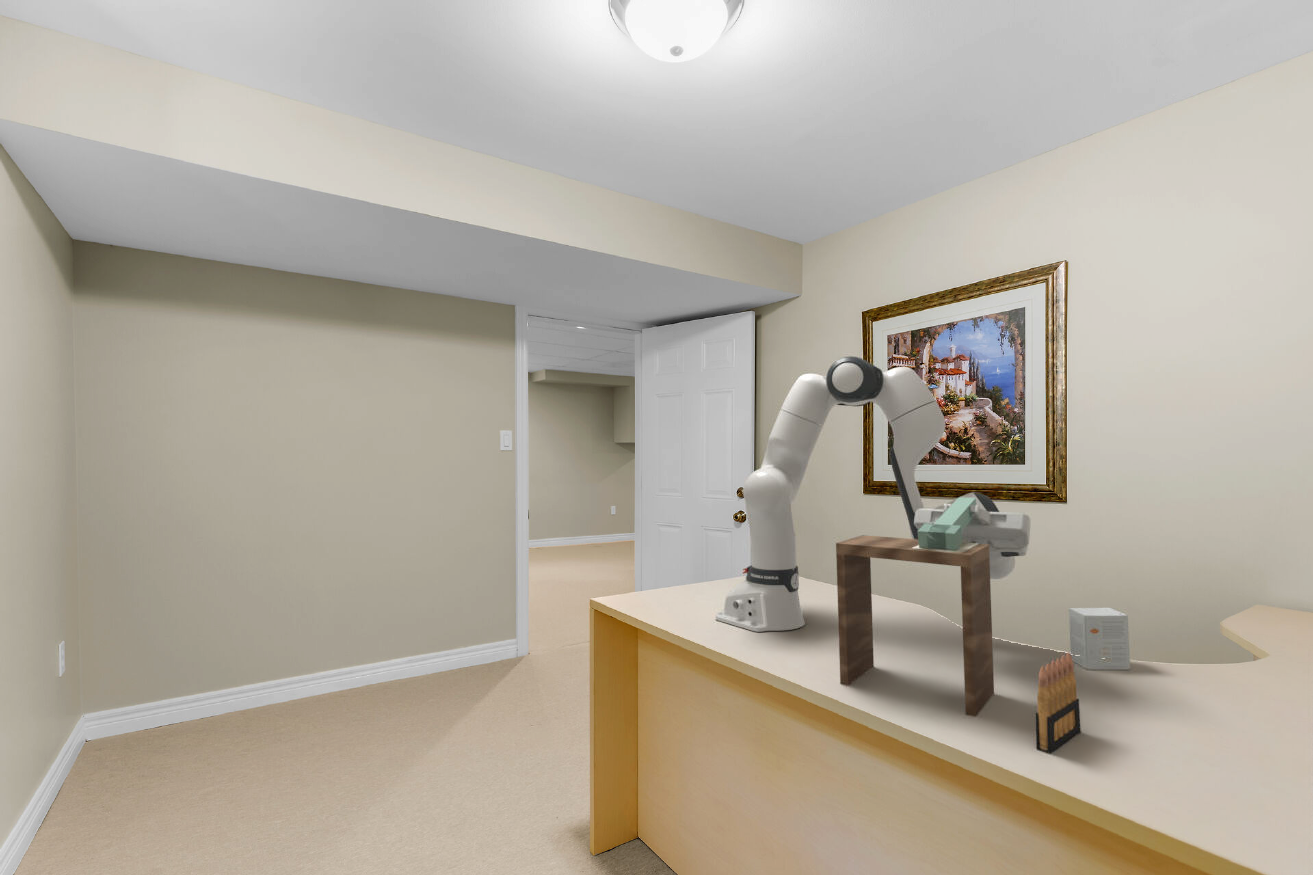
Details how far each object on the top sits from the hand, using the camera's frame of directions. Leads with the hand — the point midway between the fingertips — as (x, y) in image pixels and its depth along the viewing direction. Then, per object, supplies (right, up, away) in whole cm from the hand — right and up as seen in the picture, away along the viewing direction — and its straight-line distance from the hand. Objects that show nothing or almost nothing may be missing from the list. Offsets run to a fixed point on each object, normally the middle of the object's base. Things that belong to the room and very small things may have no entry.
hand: (960, 508), depth 115 cm
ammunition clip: (+3, -32, -24) cm, 40 cm away
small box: (+30, -31, +5) cm, 43 cm away
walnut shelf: (-10, -32, -4) cm, 34 cm away
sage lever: (-3, -4, -3) cm, 6 cm away
